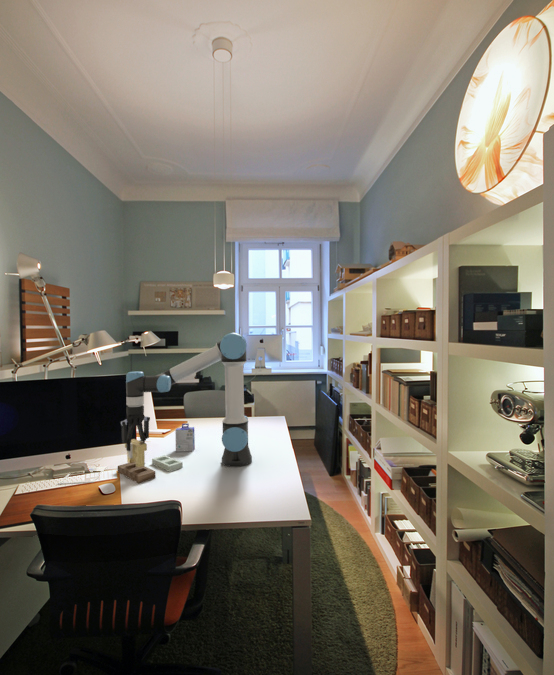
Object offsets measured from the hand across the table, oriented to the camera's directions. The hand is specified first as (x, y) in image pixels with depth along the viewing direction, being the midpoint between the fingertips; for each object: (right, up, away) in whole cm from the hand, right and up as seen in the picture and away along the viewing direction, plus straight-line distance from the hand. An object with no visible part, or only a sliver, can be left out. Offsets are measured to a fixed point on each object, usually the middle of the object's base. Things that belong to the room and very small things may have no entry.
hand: (135, 456), depth 169 cm
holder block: (+11, -8, +12) cm, 18 cm away
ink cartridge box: (+14, -9, +36) cm, 40 cm away
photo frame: (-24, -10, 0) cm, 26 cm away
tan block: (0, -4, 0) cm, 4 cm away
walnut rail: (0, -9, 0) cm, 9 cm away
